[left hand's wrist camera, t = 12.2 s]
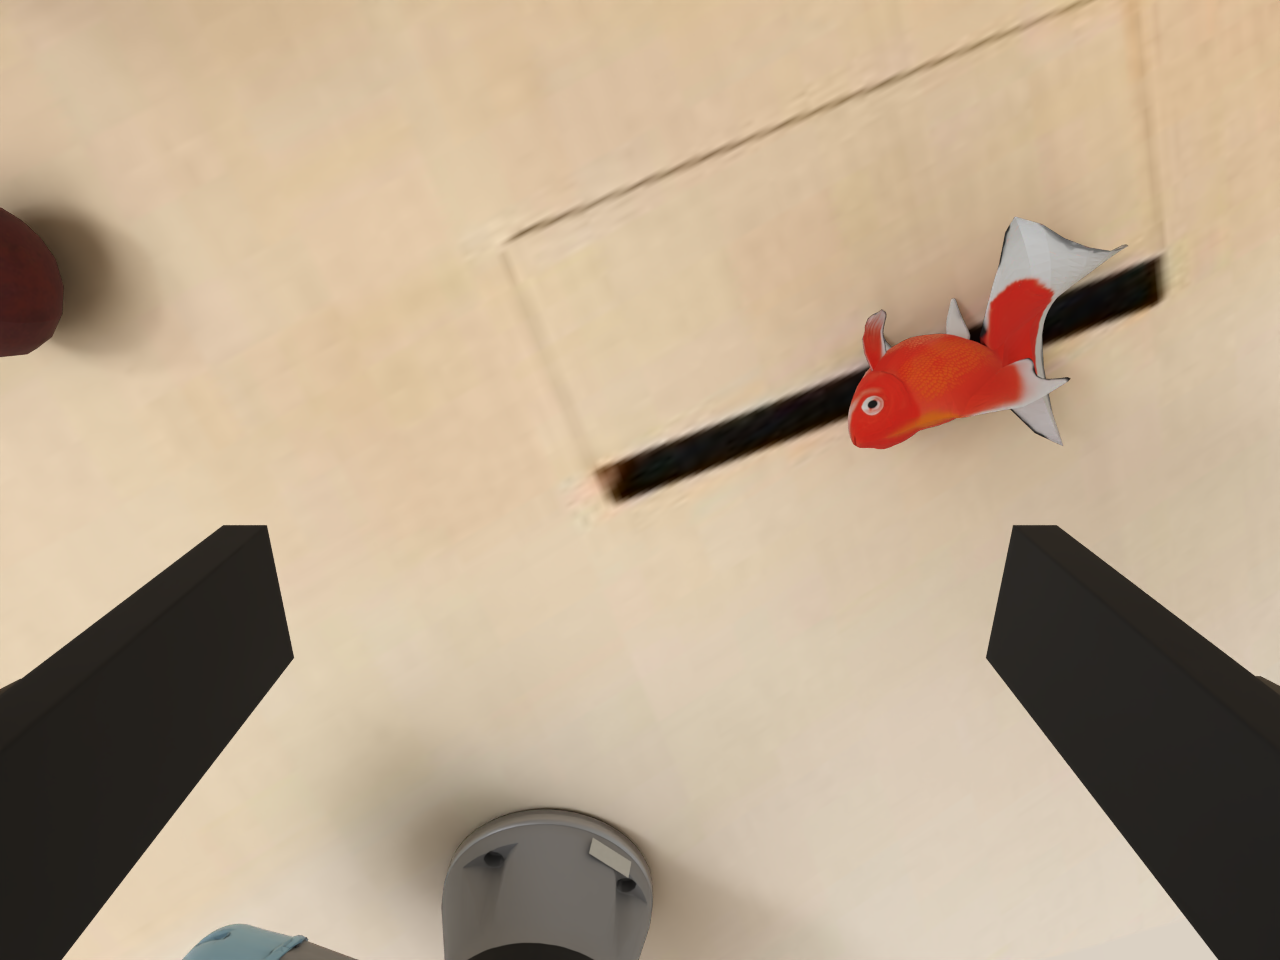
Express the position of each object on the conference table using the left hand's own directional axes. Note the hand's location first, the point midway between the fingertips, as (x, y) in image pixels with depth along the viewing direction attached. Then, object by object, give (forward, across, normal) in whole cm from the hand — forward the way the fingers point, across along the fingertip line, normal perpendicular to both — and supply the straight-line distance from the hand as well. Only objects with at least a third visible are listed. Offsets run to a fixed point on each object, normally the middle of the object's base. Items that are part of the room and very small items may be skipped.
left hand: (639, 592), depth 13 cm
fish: (+28, -17, 0) cm, 32 cm away
